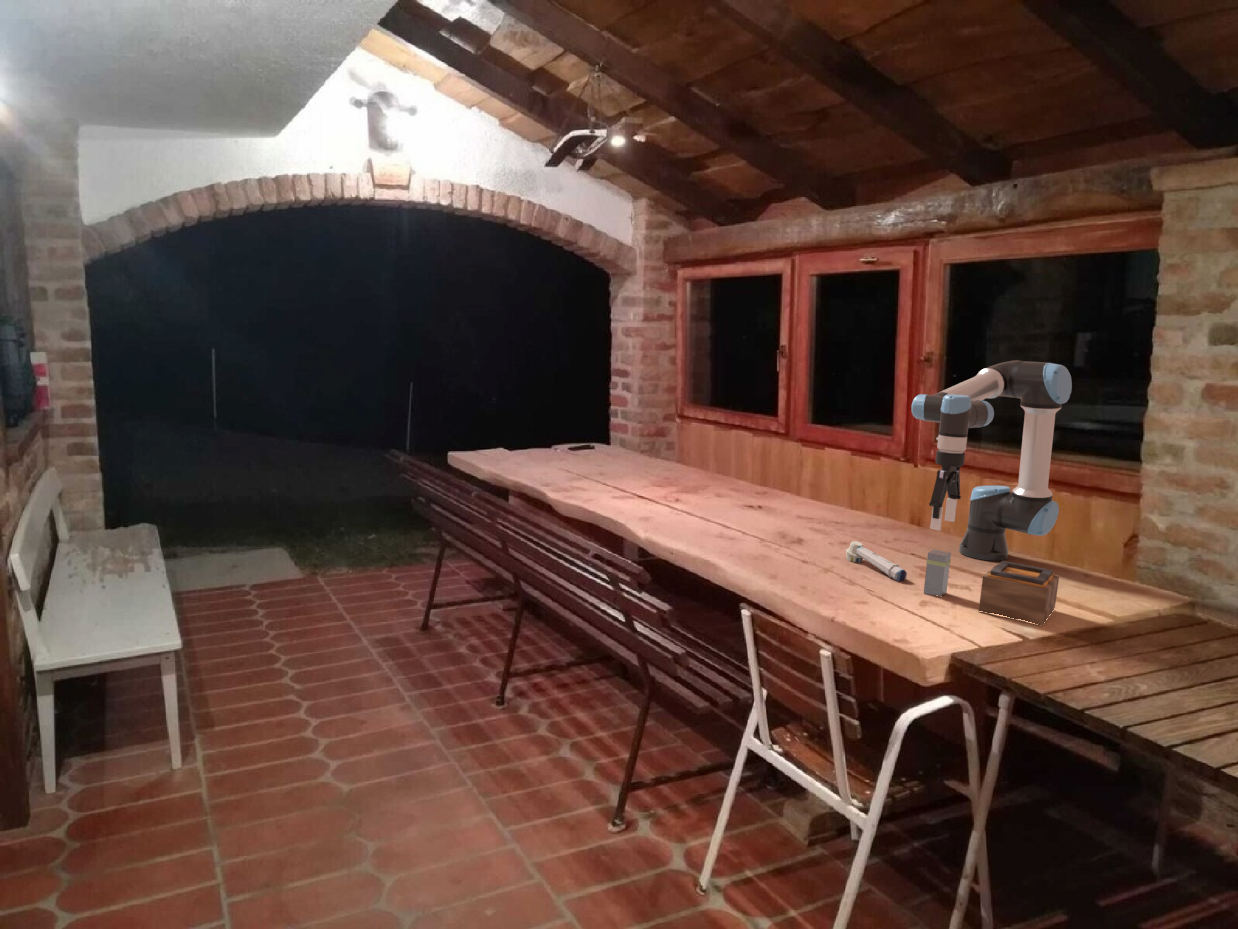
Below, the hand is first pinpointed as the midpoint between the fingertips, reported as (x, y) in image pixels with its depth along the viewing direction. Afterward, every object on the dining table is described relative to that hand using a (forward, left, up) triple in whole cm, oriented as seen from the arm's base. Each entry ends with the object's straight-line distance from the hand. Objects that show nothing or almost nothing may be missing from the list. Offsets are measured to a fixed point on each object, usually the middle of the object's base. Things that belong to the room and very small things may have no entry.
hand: (942, 525), depth 256 cm
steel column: (0, 0, -20) cm, 20 cm away
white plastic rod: (-11, -22, -21) cm, 32 cm away
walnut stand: (0, +22, -20) cm, 30 cm away
